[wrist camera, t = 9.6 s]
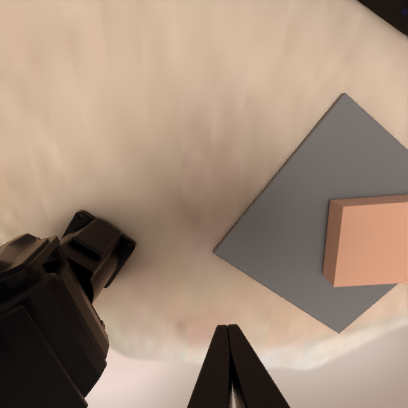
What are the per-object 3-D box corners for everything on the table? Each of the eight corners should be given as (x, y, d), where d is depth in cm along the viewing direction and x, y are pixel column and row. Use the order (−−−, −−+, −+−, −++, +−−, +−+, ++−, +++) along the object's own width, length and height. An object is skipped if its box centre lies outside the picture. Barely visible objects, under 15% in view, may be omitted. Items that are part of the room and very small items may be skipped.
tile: (333, 287, 20) (432, 281, 20) (343, 206, 18) (455, 198, 18) (321, 272, 22) (410, 267, 22) (328, 199, 20) (428, 192, 20)
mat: (336, 329, 25) (339, 333, 25) (213, 250, 22) (213, 253, 22) (472, 213, 21) (479, 214, 20) (341, 93, 18) (345, 92, 17)
